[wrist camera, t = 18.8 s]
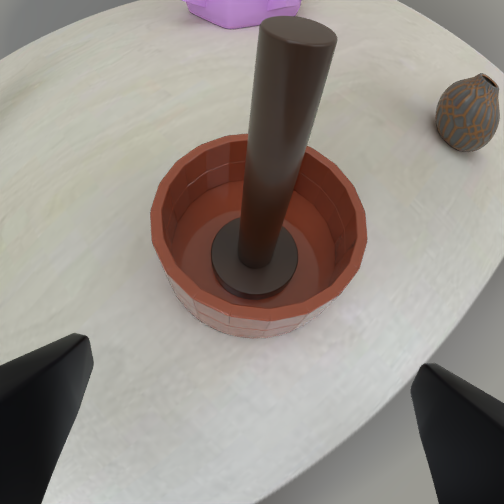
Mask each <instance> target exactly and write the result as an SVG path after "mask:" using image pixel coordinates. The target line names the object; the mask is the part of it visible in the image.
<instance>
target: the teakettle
mask: <svg viewBox="0 0 504 504" xmlns="http://www.w3.org/2000/svg"><path fill="white" fill-rule="evenodd" d="M182 1H185V2H186V3H187V6H188V9H189V11H190V12H191V13H193V14H195V15H197V16H199V17H201V18H203V19H205V20H207V21H210V22H212V23H214V24H216V25H219V26H221V27H223V28H227V29H235V28H243V27H249V26H255V25H260V24H261V22H262V21H263V20H264V19H266V18H269V17H274V16H295V15H296V13H297V12H298V10H299V8H300V5H301V0H182Z"/></svg>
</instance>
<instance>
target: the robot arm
mask: <svg viewBox="0 0 504 504" xmlns="http://www.w3.org/2000/svg"><path fill="white" fill-rule="evenodd" d="M93 364H94V362H93V356H92V351H91V345H90V341H89V338H88V337H87V336H86V335H81V334H77V333H73V334H70V335H68V336H66V337H64V338H61V339H59V340H57V341H55V342H52V343H50V344H48V345H46V346H43V347H41V348H39V349H37V350H34V351H32V352H30V353H28V354H25V355H23V356H21V357H18V358H16V359H14V360H12V361H9V362H7V363H5V364H3V365H0V504H41V503H42V500H43V497H44V495H45V492H46V489H47V487H48V484H49V481H50V479H51V476H52V474H53V471H54V468H55V466H56V463H57V461H58V459H59V456H60V454H61V451H62V449H63V446H64V444H65V442H66V439H67V437H68V435H69V432H70V430H71V428H72V426H73V423H74V421H75V419H76V416H77V414H78V411H79V408H80V406H81V402H82V399H83V396H84V393H85V390H86V387H87V384H88V381H89V378H90V375H91V373H92V370H93ZM411 397H412V401H413V406H414V410H415V415H416V419H417V424H418V429H419V433H420V437H421V441H422V444H423V447H424V451H425V454H426V457H427V461H428V464H429V468H430V471H431V475H432V478H433V482H434V486H435V490H436V494H437V498H438V502H439V504H504V403H502V402H501V401H499V400H497V399H496V398H494V397H492V396H491V395H489V394H487V393H485V392H484V391H482V390H480V389H479V388H477V387H475V386H473V385H472V384H470V383H468V382H467V381H465V380H463V379H462V378H460V377H458V376H456V375H455V374H453V373H451V372H449V371H448V370H446V369H445V368H443V367H441V366H440V365H438V364H436V363H425V364H423V365H422V366H421V367H420V369H419V371H418V373H417V375H416V377H415V379H414V381H413V383H412V386H411Z"/></svg>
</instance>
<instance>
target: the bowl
mask: <svg viewBox="0 0 504 504" xmlns="http://www.w3.org/2000/svg"><path fill="white" fill-rule="evenodd" d="M247 141H248V134H238V135H228V136H224V137H221V138H219V139H216V140H213V141H210V142H207V143H204V144H202V145H200V146H198V147H196V148H195V149H193V150H192V151H191V152H189V153H188V154H186V155H185V156H183V157H182V158H181V159H179V160H178V161H177V162H176V163H175V164H174V165H173V166H172V168H171V169H170V170H169V172H168V173H167V174H166V175H165V177H164V178H163V179H162V181H161V182H160V184H159V186H158V189H157V192H156V195H155V198H154V201H153V204H152V207H151V212H150V218H151V236H152V244H153V246H154V248H155V251H156V253H157V255H158V258H159V260H160V262H161V265H162V267H163V269H164V271H165V274H166V276H167V278H168V280H169V282H170V284H171V286H172V288H173V290H174V292H175V294H176V296H177V298H178V299H179V300H180V301H181V302H182V304H183V305H184V306H185V307H186V308H187V309H188V310H189V311H190V312H191V313H192V314H193V315H194V316H195V317H196V318H198V319H199V320H200V321H202V322H203V323H205V324H206V325H208V326H210V327H212V328H213V329H216V330H218V331H221V332H223V333H226V334H229V335H233V336H237V337H245V338H268V337H274V336H279V335H282V334H286V333H289V332H291V331H293V330H296V329H298V328H300V327H302V326H303V325H305V324H306V323H308V322H309V321H311V320H312V319H314V318H315V317H317V316H318V315H319V314H320V313H321V312H322V311H323V310H324V309H325V308H327V307H328V306H329V305H330V304H331V303H332V302H333V301H334V300H335V299H336V298H337V297H338V296H339V295H340V294H341V293H342V291H343V290H344V289H345V288H346V286H347V285H348V284H349V282H350V281H351V280H352V278H353V277H354V276H355V274H356V273H357V272H358V270H359V268H360V265H361V262H362V258H363V255H364V251H365V248H366V244H367V229H366V217H365V210H364V208H363V206H362V203H361V201H360V199H359V197H358V194H357V192H356V190H355V188H354V186H353V184H352V183H351V182H350V181H349V180H348V178H347V177H346V176H345V175H344V174H343V172H342V171H341V170H340V169H339V168H338V167H337V165H335V164H334V163H333V162H332V161H330V160H329V159H327V158H326V157H324V156H323V155H322V154H320V153H319V152H317V151H316V150H314V149H313V148H311V147H309V146H307V147H306V150H305V154H304V157H303V160H302V163H301V167H300V170H299V173H298V177H297V180H296V183H295V186H294V190H293V193H292V196H291V199H290V202H289V206H288V209H287V212H286V215H285V218H284V222H283V225H282V226H283V227H285V228H286V229H287V230H288V231H289V233H290V234H291V235H292V237H293V239H294V241H295V243H296V246H297V250H298V264H297V268H296V271H295V273H294V275H293V277H292V279H291V280H290V282H289V283H288V285H287V286H286V287H285V288H284V289H283V290H282V291H280V292H279V293H277V294H276V295H274V296H271V297H269V298H265V299H259V300H251V299H245V298H241V297H238V296H236V295H234V294H232V293H230V292H229V291H227V290H226V289H225V288H224V287H223V286H222V285H221V284H220V283H219V282H218V280H217V278H216V277H215V274H214V272H213V269H212V263H211V247H212V243H213V240H214V238H215V236H216V234H217V233H218V232H219V230H220V229H221V228H222V227H223V226H224V225H226V224H227V223H229V222H230V221H232V220H234V219H236V218H239V217H240V216H241V205H242V194H243V183H244V173H245V162H246V152H247Z"/></svg>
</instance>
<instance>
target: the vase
mask: <svg viewBox="0 0 504 504" xmlns="http://www.w3.org/2000/svg"><path fill="white" fill-rule="evenodd" d="M498 94H499V87H498V85H497V84H496V83H495V82H494V81H493V80H492V79H491V78H490V77H488V76H487V75H485V74H483V73H480V74H478V75H477V76H475V77H472V78H468V79H464V80H460V81H457V82H455V83H453V84H452V85H451V86H449V87H448V88H447V89H446V90H445V91H444V93H443V94H442V96H441V98H440V100H439V102H438V105H437V108H436V124H437V128H438V131H439V133H440V135H441V137H442V138H443V139H444V140H445V141H446V142H447V143H448V144H449V145H450V146H451V147H453V148H455V149H457V150H459V151H465V152H471V151H476V150H478V149H480V148H482V147H484V146H485V145H486V144H487V143H488V142H489V141H490V140H491V139H492V137H493V136H494V134H495V132H496V130H497V127H498V124H499V118H500V112H499V102H498Z"/></svg>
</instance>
